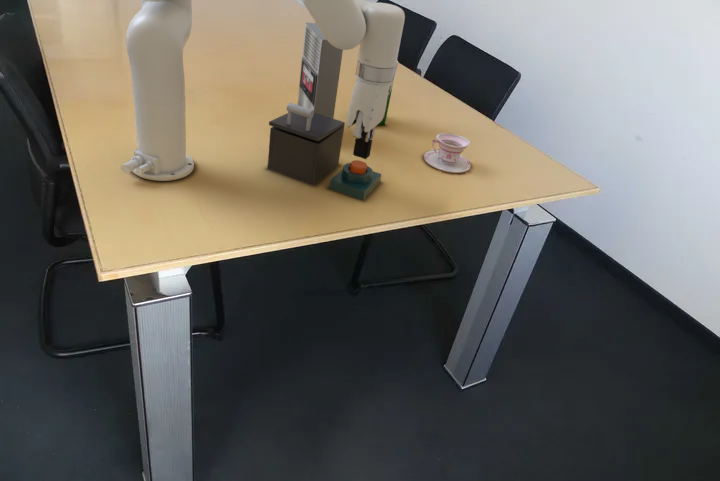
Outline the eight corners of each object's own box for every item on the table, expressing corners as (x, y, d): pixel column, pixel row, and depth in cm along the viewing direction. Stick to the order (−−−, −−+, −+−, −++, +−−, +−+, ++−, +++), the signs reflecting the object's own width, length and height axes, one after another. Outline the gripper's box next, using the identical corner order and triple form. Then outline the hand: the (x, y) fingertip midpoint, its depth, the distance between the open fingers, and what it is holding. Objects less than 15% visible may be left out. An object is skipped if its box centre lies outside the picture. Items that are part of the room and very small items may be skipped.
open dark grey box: (313, 185, 121) (319, 144, 116) (267, 169, 124) (270, 127, 119) (338, 164, 132) (344, 125, 126) (294, 149, 134) (298, 111, 129)
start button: (362, 176, 121) (363, 169, 120) (346, 171, 122) (348, 164, 121) (368, 170, 124) (369, 163, 123) (353, 165, 124) (354, 158, 123)
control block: (362, 200, 120) (366, 184, 117) (329, 188, 122) (331, 172, 119) (379, 182, 127) (383, 166, 125) (348, 171, 129) (350, 156, 127)
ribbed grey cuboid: (292, 119, 149) (302, 22, 135) (314, 119, 151) (326, 23, 138) (307, 142, 139) (319, 39, 125) (330, 142, 141) (344, 41, 127)
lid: (318, 141, 115) (321, 116, 112) (268, 125, 118) (271, 100, 115) (344, 125, 126) (348, 102, 123) (298, 110, 129) (301, 88, 126)
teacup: (465, 155, 148) (471, 133, 144) (474, 176, 138) (481, 153, 134) (420, 149, 146) (426, 127, 143) (426, 170, 137) (432, 147, 133)
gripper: (372, 58, 117) (358, 139, 127) (342, 75, 105) (330, 163, 116) (405, 68, 115) (389, 149, 126) (379, 86, 103) (363, 174, 114)
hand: (361, 155), depth 120 cm, fingers closed
